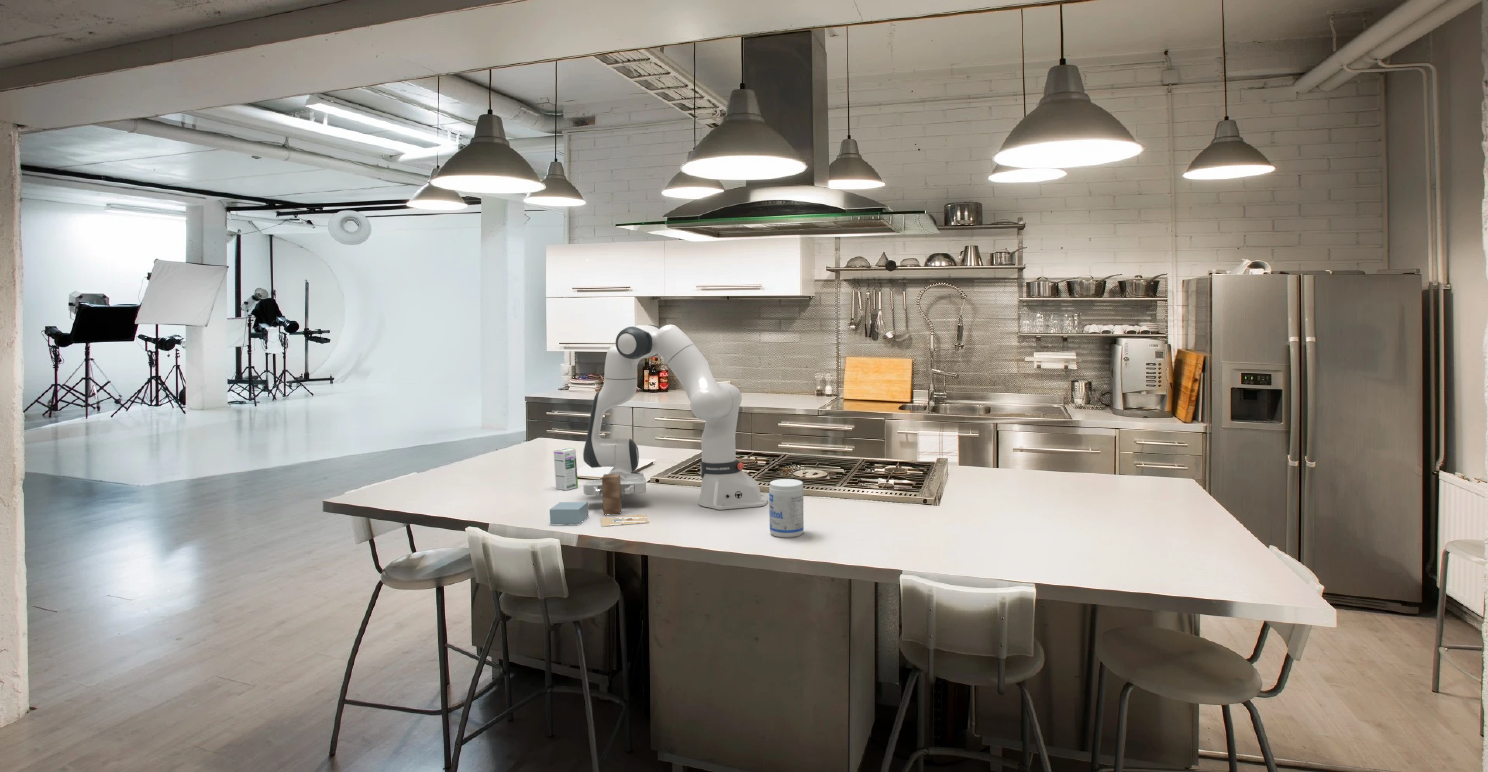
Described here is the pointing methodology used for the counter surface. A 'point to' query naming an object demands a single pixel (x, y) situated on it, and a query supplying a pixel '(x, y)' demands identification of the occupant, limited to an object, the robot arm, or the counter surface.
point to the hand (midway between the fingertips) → (612, 492)
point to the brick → (569, 513)
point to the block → (611, 494)
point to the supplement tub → (786, 508)
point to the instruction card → (609, 521)
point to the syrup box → (565, 468)
